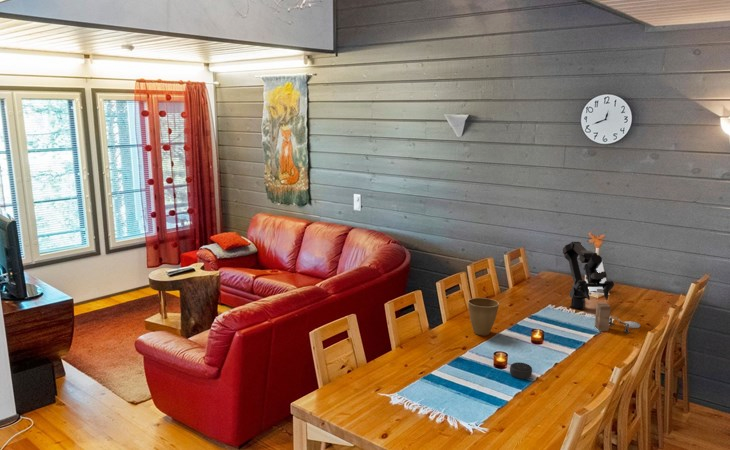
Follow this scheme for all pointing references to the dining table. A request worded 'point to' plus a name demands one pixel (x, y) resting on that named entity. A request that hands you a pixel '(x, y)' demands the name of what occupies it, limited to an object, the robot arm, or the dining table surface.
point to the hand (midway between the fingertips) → (598, 299)
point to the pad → (632, 324)
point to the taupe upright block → (602, 316)
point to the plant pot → (482, 314)
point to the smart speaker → (521, 370)
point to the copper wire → (620, 323)
